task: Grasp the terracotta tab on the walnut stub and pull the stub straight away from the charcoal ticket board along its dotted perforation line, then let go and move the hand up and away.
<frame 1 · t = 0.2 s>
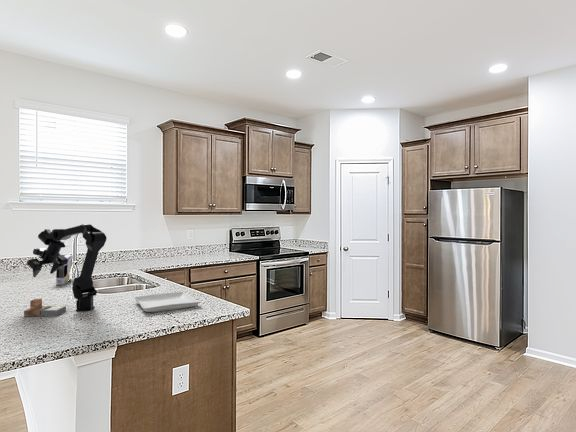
hand: (42, 275, 193), 15 cm above the counter, fingers open, 9 cm apart
square plate: (165, 306, 190), on the counter
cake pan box: (64, 282, 248), on the counter
ticket board: (45, 313, 173), on the counter
stub: (37, 306, 173), point 3 cm above the counter, slide at 0.0 cm
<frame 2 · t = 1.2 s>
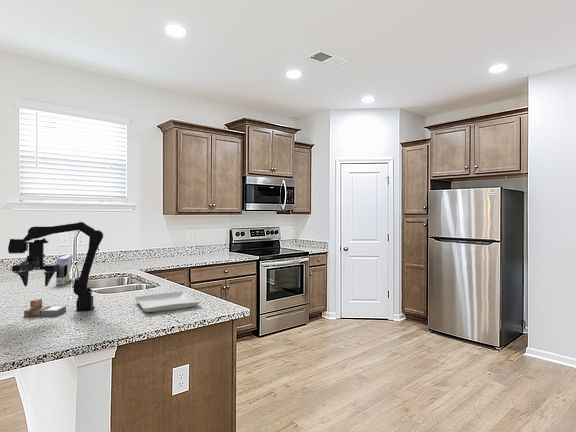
hand: (36, 286, 173), 13 cm above the counter, fingers open, 9 cm apart
nothing on the counter moved.
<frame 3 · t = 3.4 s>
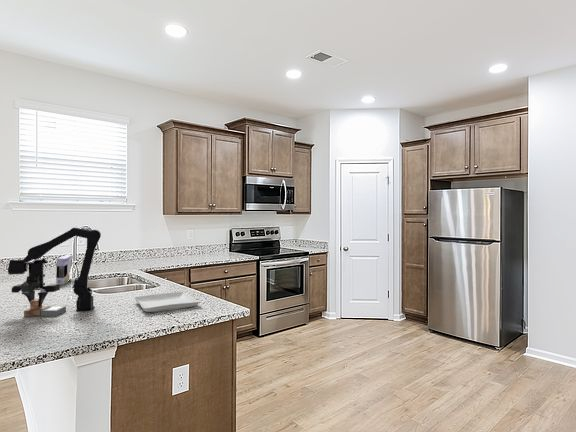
hand: (36, 306, 173), 4 cm above the counter, fingers closed on stub, 3 cm apart
stub: (37, 306, 173), point 3 cm above the counter, slide at 0.0 cm, touching gripper
everything else where it was.
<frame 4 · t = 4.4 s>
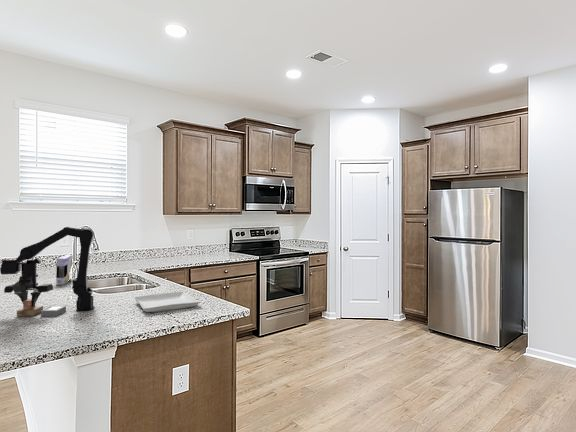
hand: (29, 306, 172), 4 cm above the counter, fingers closed on stub, 3 cm apart
stub: (30, 306, 172), point 3 cm above the counter, slide at 3.1 cm, touching gripper
everything else where it was.
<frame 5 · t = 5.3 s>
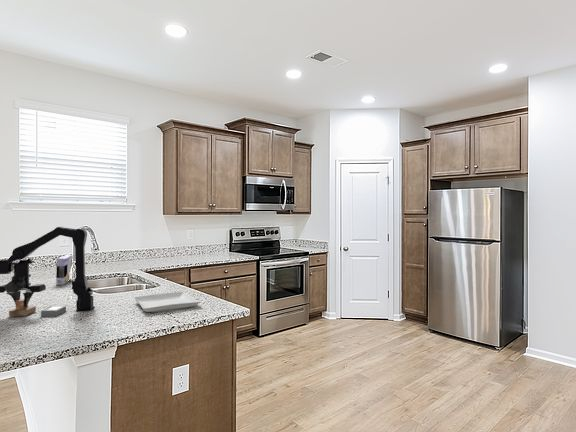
hand: (21, 306, 172), 4 cm above the counter, fingers closed on stub, 3 cm apart
stub: (22, 306, 172), point 3 cm above the counter, slide at 6.4 cm, touching gripper
everything else where it was.
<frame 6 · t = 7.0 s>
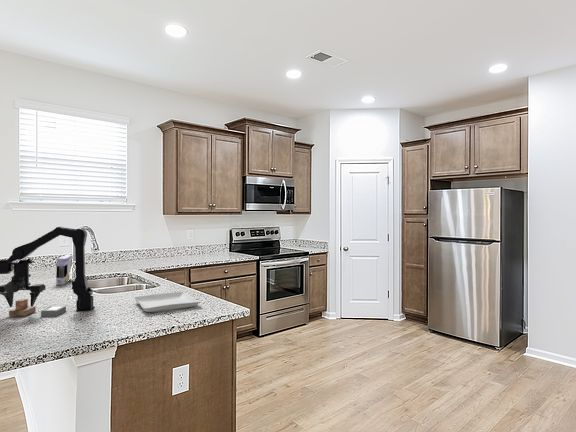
hand: (21, 306, 172), 4 cm above the counter, fingers open, 9 cm apart
stub: (22, 306, 172), point 3 cm above the counter, slide at 6.4 cm
everything else where it was.
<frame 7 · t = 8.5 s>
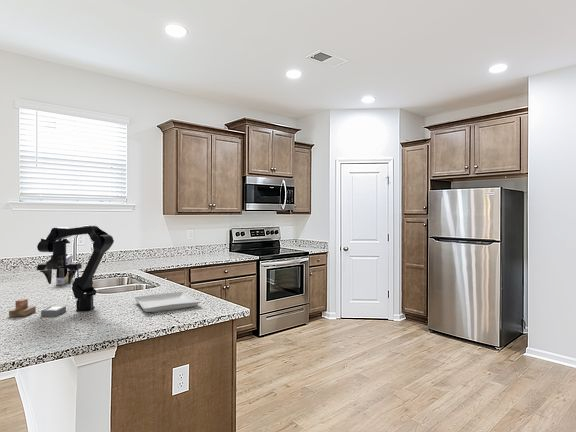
hand: (59, 283, 184), 12 cm above the counter, fingers open, 9 cm apart
nothing on the counter moved.
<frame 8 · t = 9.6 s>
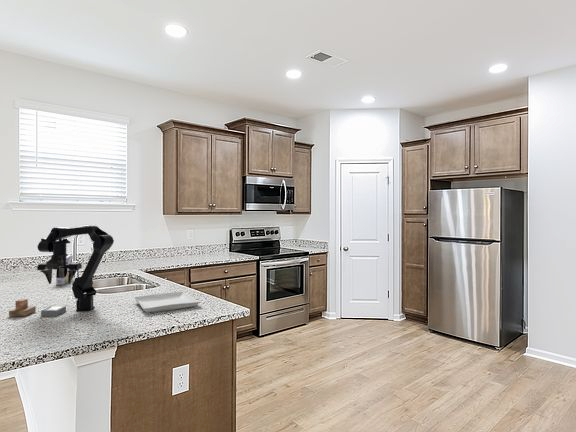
hand: (59, 283, 184), 12 cm above the counter, fingers open, 9 cm apart
nothing on the counter moved.
at the end: stub slide at 6.4 cm; the gripper is holding nothing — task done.
